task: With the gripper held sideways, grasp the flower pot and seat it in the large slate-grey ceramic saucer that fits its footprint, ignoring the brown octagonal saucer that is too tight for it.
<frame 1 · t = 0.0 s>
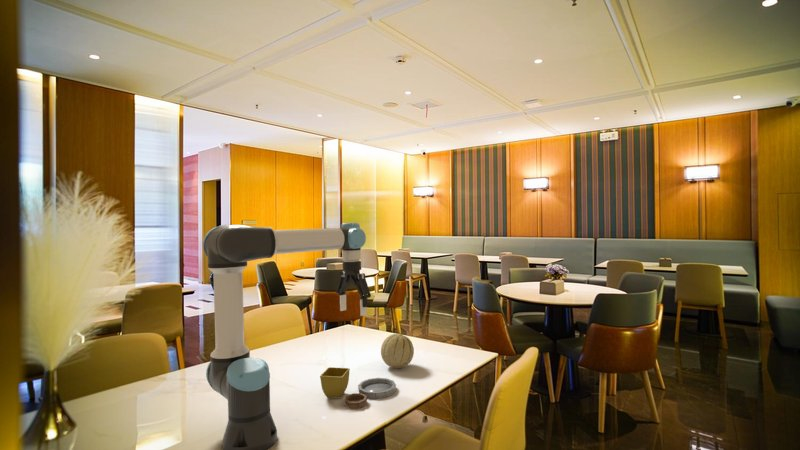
hand: (353, 312, 161), 28 cm above the table, tool pointing down, fingers open, 13 cm apart
brown octagonal saucer: (355, 403, 141), on the table
cantaloupe: (397, 367, 176), on the table
grey saucer: (377, 390, 152), on the table
flower pot: (335, 396, 148), on the table
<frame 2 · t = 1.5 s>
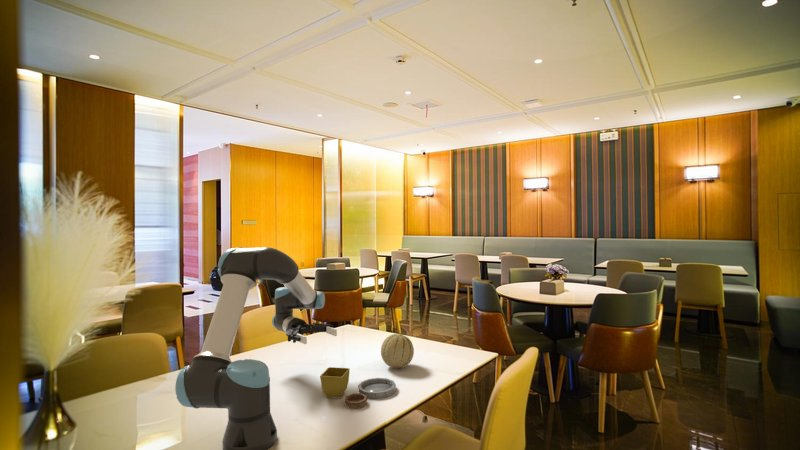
hand: (321, 336, 155), 20 cm above the table, tool horizontal, fingers open, 13 cm apart
nothing on the table moved.
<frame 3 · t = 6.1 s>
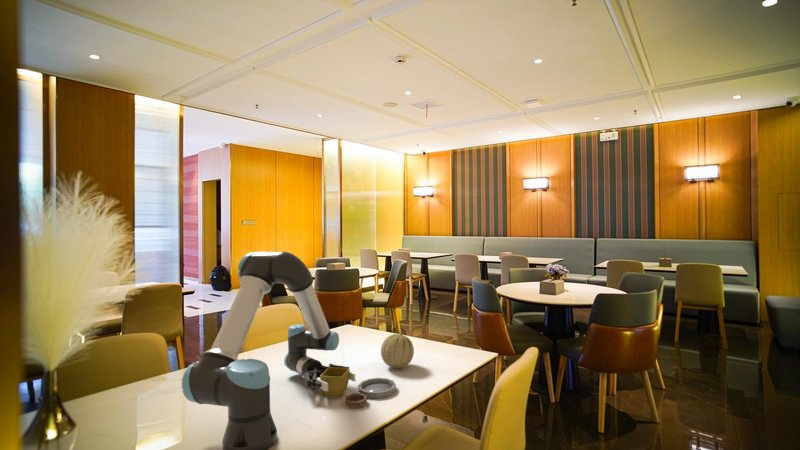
hand: (341, 382, 145), 6 cm above the table, tool horizontal, fingers closed on flower pot, 11 cm apart
flower pot: (335, 396, 148), on the table, touching gripper
everything else where it was.
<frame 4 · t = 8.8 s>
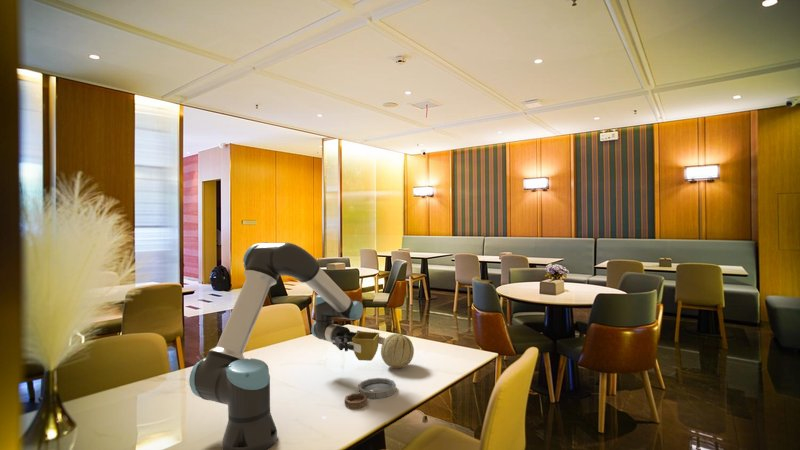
hand: (372, 345, 149), 18 cm above the table, tool horizontal, fingers closed on flower pot, 11 cm apart
flower pot: (366, 359, 152), point 12 cm above the table, touching gripper
everything else where it was.
when the fingers open (8 cm above the table, at t = 11.6 s): flower pot drops 1 cm, resting on grey saucer.
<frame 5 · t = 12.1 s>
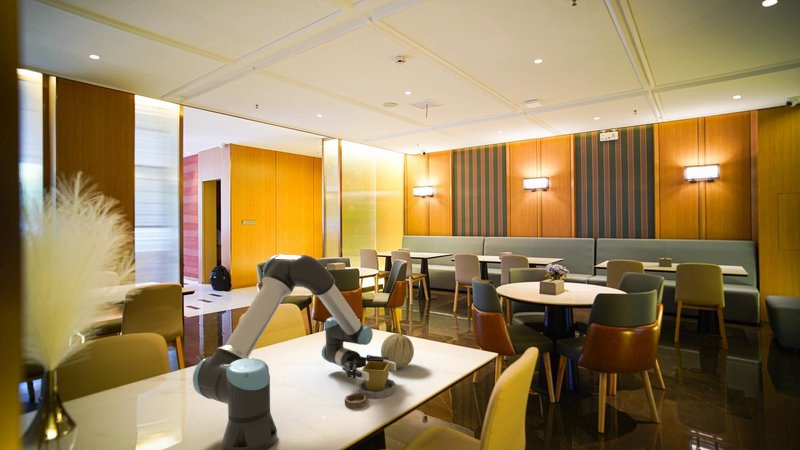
hand: (382, 371, 149), 8 cm above the table, tool horizontal, fingers open, 13 cm apart
flower pot: (376, 389, 152), resting on grey saucer
everything else where it was.
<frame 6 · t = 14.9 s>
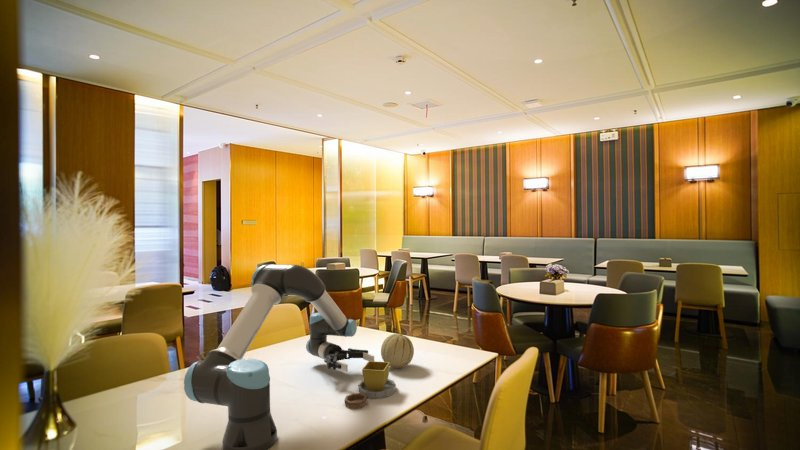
hand: (360, 363, 159), 8 cm above the table, tool horizontal, fingers open, 13 cm apart
nothing on the table moved.
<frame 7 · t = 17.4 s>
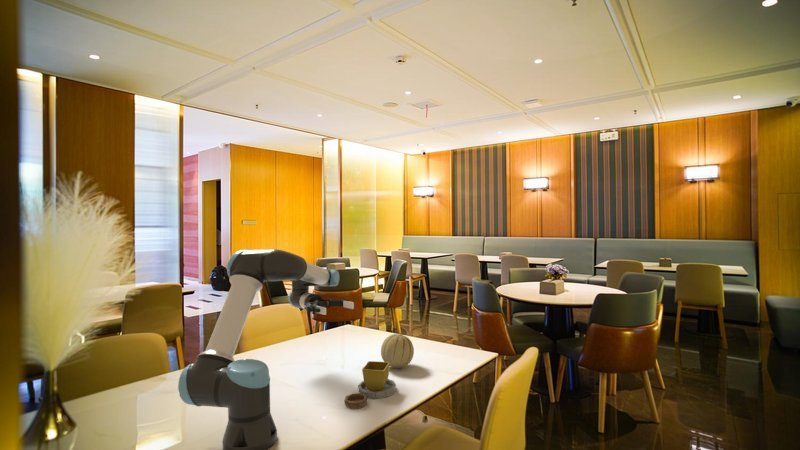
hand: (339, 308, 160), 30 cm above the table, tool horizontal, fingers open, 13 cm apart
nothing on the table moved.
at the end: flower pot 0.1 cm off-centre on the grey saucer, point 0.4 cm above the grey saucer's base; flower pot tilted 0°; the gripper is holding nothing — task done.
